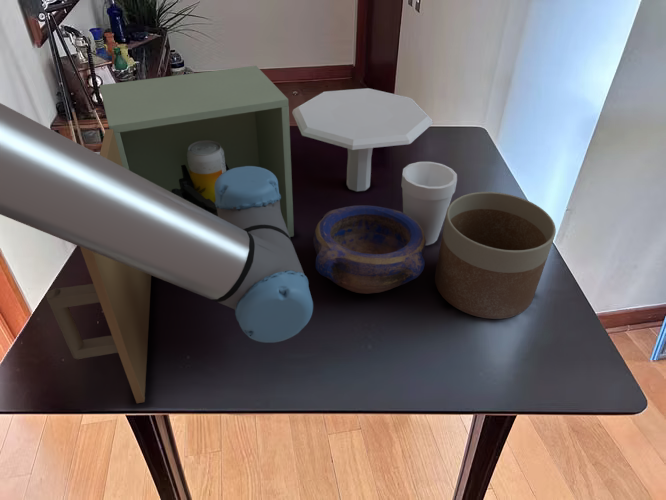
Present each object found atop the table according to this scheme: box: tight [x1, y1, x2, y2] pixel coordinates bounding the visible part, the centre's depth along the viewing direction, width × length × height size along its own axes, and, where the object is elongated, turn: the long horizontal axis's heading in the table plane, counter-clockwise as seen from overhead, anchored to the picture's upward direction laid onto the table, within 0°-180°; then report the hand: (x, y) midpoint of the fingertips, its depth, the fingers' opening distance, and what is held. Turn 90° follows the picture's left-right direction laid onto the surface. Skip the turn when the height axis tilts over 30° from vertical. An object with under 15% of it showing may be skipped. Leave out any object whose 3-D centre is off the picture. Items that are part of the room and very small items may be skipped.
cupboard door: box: [45, 128, 152, 404], centre depth 68 cm, size 7×26×26 cm, turn 14°
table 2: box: [291, 87, 434, 192], centre depth 106 cm, size 28×28×17 cm
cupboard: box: [99, 65, 295, 238], centre depth 90 cm, size 17×26×26 cm, turn 114°
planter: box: [434, 191, 557, 320], centre depth 81 cm, size 16×16×14 cm
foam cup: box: [400, 161, 458, 246], centre depth 93 cm, size 10×9×13 cm
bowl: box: [312, 204, 427, 295], centre depth 84 cm, size 18×18×10 cm
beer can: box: [187, 140, 226, 203], centre depth 89 cm, size 6×6×15 cm
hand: (203, 168), depth 93 cm, fingers closed on beer can, 6 cm apart
